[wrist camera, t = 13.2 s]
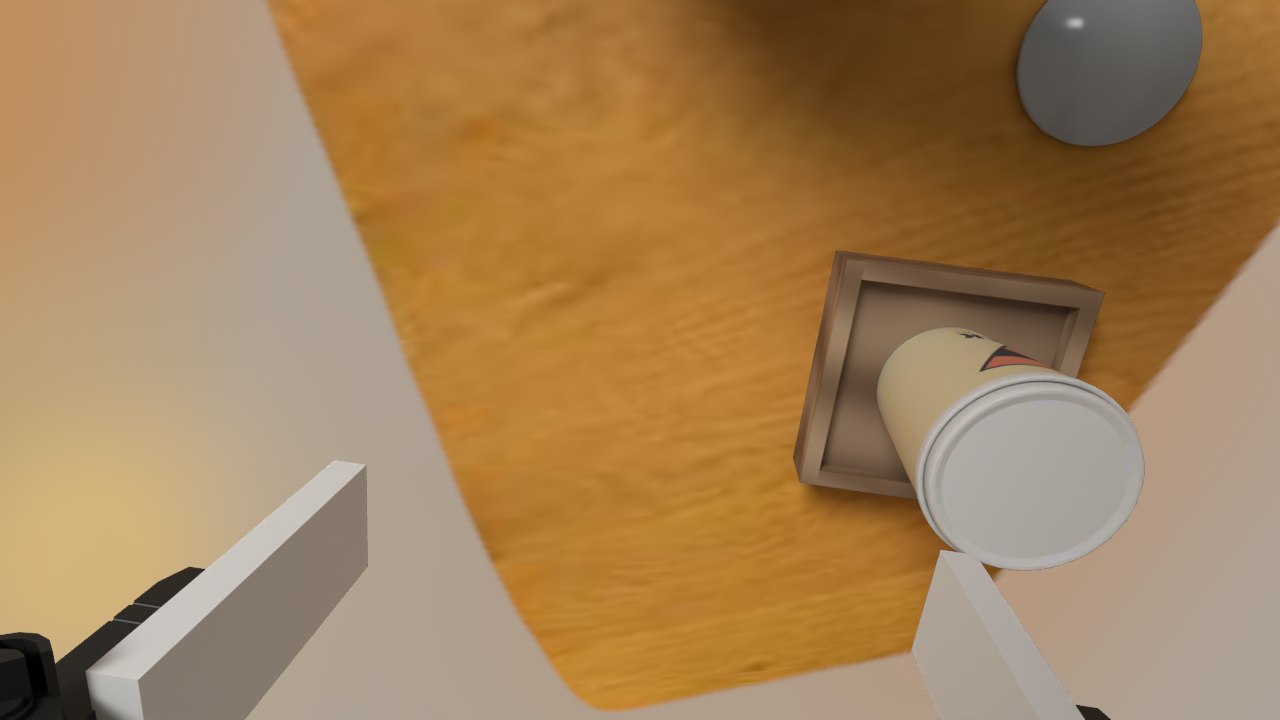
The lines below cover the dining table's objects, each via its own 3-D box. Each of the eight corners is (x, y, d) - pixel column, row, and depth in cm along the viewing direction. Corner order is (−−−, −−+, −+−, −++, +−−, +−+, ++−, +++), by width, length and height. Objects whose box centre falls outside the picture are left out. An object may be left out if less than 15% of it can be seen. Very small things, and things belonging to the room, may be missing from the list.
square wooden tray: (835, 250, 41) (847, 259, 38) (1072, 280, 40) (1104, 292, 37) (793, 457, 45) (800, 482, 42) (1005, 488, 45) (1029, 516, 41)
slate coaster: (1043, -44, 35) (1049, -47, 35) (1221, -25, 35) (1229, -28, 34) (996, 135, 38) (1000, 135, 38) (1159, 155, 38) (1166, 155, 37)
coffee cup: (1059, 378, 40) (1203, 472, 28) (941, 487, 42) (1029, 613, 31) (942, 280, 38) (1042, 336, 27) (829, 398, 41) (876, 494, 30)
